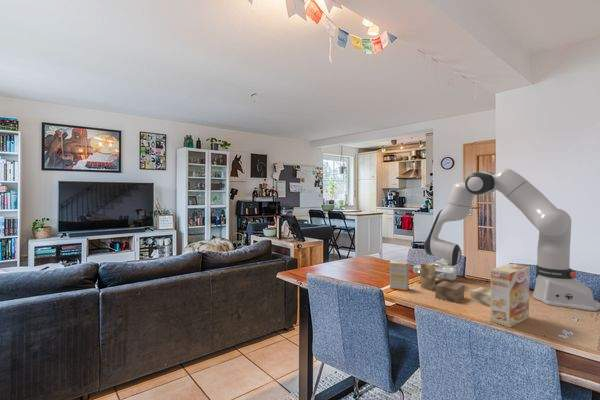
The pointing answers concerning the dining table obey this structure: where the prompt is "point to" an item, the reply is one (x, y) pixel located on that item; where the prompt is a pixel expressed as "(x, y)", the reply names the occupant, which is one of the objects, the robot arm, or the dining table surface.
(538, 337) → the dining table surface
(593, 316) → the dining table surface
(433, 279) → the oak pillar
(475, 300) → the beech block
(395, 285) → the supplement box
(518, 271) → the coffeecake box
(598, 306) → the robot arm
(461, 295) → the walnut block
